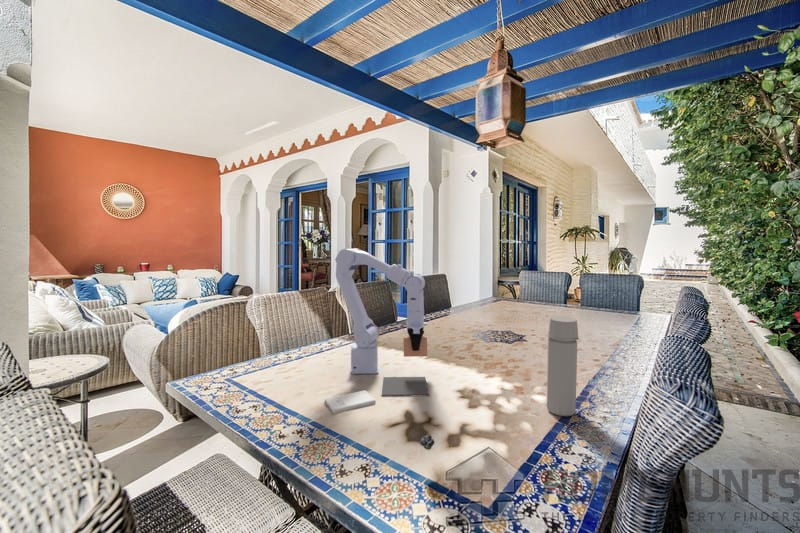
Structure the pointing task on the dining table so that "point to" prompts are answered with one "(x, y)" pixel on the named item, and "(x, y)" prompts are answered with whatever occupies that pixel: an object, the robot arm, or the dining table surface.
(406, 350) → the terracotta tile
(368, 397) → the external hard drive
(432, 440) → the blueberries
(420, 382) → the mat
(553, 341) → the water bottle
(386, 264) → the robot arm
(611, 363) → the dining table surface
